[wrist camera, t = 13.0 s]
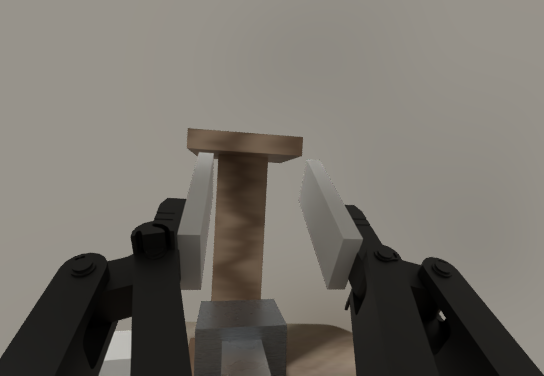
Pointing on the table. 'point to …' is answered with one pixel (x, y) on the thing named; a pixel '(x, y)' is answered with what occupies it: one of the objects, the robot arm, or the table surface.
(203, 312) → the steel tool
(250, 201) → the shelf post
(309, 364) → the table surface
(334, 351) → the table surface
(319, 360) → the table surface
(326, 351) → the table surface
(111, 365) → the white cube
